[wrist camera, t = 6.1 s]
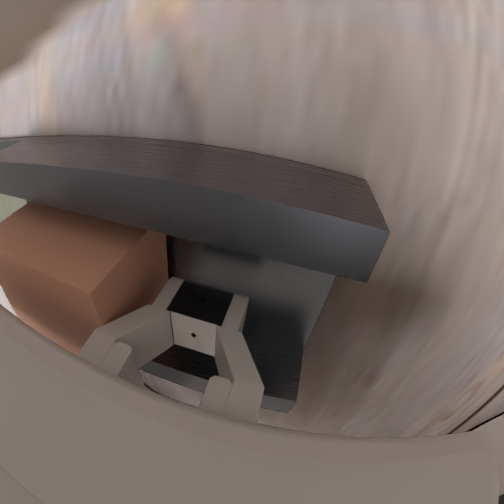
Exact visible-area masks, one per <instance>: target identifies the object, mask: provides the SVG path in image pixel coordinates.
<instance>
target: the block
mask: <svg viewBox="0 0 504 504" xmlns="http://www.w3.org/2000/svg"><path fill="white" fill-rule="evenodd" d="M168 280H169V279H168V264H167V245H166V234H163V233H158V232H154V231H150V230H146V229H142V228H138V227H134V226H130V225H126V224H122V223H118V222H114V221H110V220H106V219H101V218H97V217H93V216H89V215H85V214H81V213H77V212H73V211H69V210H65V209H61V208H57V207H53V206H49V205H45V204H41V203H37V202H33V201H30V202H28V203H27V204H26V205H24V206H23V207H21V208H20V209H18V210H17V211H15V212H14V213H13V214H11V215H10V216H8V217H7V218H6V219H4V220H3V221H2V222H0V284H1V286H2V288H3V290H4V292H5V294H6V296H7V298H8V300H9V302H10V304H11V306H12V308H13V309H14V311H15V313H16V315H17V316H18V318H19V319H20V320H22V321H23V322H24V323H26V324H27V325H29V326H30V327H32V328H33V329H35V330H36V331H38V332H39V333H41V334H42V335H44V336H45V337H47V338H48V339H50V340H52V341H53V342H55V343H56V344H58V345H60V346H61V347H63V348H65V349H66V350H68V351H70V352H72V353H73V354H75V355H77V354H78V353H79V351H80V350H81V349H82V347H83V346H84V344H85V343H86V341H87V340H88V338H89V337H90V336H91V334H92V333H93V331H94V330H95V329H96V328H99V327H101V326H103V325H105V324H107V323H109V322H111V321H114V320H116V319H118V318H120V317H122V316H124V315H127V314H129V313H131V312H133V311H135V310H137V309H139V308H142V307H144V306H146V305H148V304H149V305H152V304H153V303H154V301H155V300H156V298H157V297H158V295H159V294H160V292H161V291H162V289H163V288H164V286H165V285H166V283H167V282H168Z"/></svg>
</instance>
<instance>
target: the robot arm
mask: <svg viewBox="0 0 504 504" xmlns="http://www.w3.org/2000/svg"><path fill="white" fill-rule="evenodd" d="M248 301H249V296H245V295H241V294H237V293H233V292H229V291H225V290H221V289H217V288H213V287H209V286H205V285H202V284H198V283H195V282H192V281H189V280H184V279H181V278H178V277H175V276H173V277H171V278H170V279H169V280H168V282H167V283H166V285H165V286H164V288H163V289H162V291H161V292H160V294H159V295H158V297H157V298H156V300H155V301H154V303H153V304H152V305H149V304H148V305H146V306H144V307H142V308H139V309H137V310H135V311H133V312H131V313H129V314H127V315H124V316H122V317H120V318H118V319H116V320H114V321H111V322H109V323H107V324H105V325H103V326H101V327H99V328H96V329H95V330H94V331H93V333H92V334H91V336H90V337H89V338H88V340H87V341H86V343H85V344H84V346H83V347H82V349H81V350H80V351H79V353H78V354H77V355H75V354H73V353H72V352H70V351H68V350H66V349H65V348H63V347H61V346H60V345H58V344H56V343H55V342H53V341H52V340H50V339H48V338H47V337H45V336H44V335H42V334H41V333H39V332H38V331H36V330H35V329H33V328H32V327H30V326H29V325H27V324H26V323H24V322H23V321H22V320H20V319H19V318H18V317H16V316H15V315H13V314H12V313H11V312H10V311H8V310H7V309H6V308H4V307H3V306H2V305H1V304H0V504H504V414H503V415H501V416H499V417H497V418H495V419H493V420H491V421H489V422H487V423H485V424H484V425H482V426H480V427H478V428H476V429H474V430H472V431H469V432H463V433H456V434H448V435H438V436H426V437H407V438H369V437H349V436H336V435H326V434H317V433H309V432H302V431H295V430H289V429H283V428H278V427H272V426H267V425H263V424H258V423H257V418H258V414H259V410H260V405H261V401H262V397H263V392H264V388H265V387H264V385H263V382H262V380H261V378H260V375H259V373H258V371H257V368H256V366H255V363H254V361H253V359H252V356H251V354H250V351H249V349H248V346H247V344H246V341H245V339H244V336H243V334H242V329H243V325H244V321H245V317H246V312H247V307H248ZM174 344H176V345H179V346H183V347H186V348H190V349H193V350H196V351H199V352H202V353H205V354H208V355H211V356H214V358H215V362H216V366H217V369H218V373H219V376H213V377H211V378H210V379H209V382H208V385H207V387H206V390H205V392H204V395H203V398H202V400H201V403H200V405H199V408H198V407H195V406H191V405H188V404H185V403H183V402H180V401H177V400H174V399H171V398H168V397H166V396H163V395H160V394H158V393H155V392H153V391H150V390H148V389H145V388H143V386H144V382H143V379H142V376H141V374H140V371H139V368H140V367H142V366H143V365H145V364H146V363H148V362H149V361H151V360H152V359H154V358H155V357H157V356H158V355H160V354H161V353H163V352H164V351H166V350H167V349H169V348H170V347H171V346H173V345H174Z"/></svg>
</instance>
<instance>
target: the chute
mask: <svg viewBox="0 0 504 504" xmlns="http://www.w3.org/2000/svg"><path fill="white" fill-rule="evenodd" d="M30 201H33V202H37V203H41V204H45V205H49V206H53V207H57V208H61V209H65V210H69V211H73V212H77V213H81V214H85V215H89V216H93V217H97V218H101V219H106V220H110V221H114V222H118V223H122V224H126V225H130V226H134V227H138V228H142V229H146V230H150V231H154V232H158V233H163V234H166V245H167V264H168V279H170V278H171V277H173V276H175V277H178V278H181V279H184V280H189V281H192V282H195V283H198V284H202V285H205V286H209V287H213V288H217V289H221V290H225V291H229V292H233V293H237V294H241V295H245V296H249V301H248V307H247V312H246V317H245V321H244V325H243V329H242V334H243V336H244V339H245V341H246V344H247V346H248V349H249V351H250V354H251V356H252V359H253V361H254V363H255V366H256V368H257V371H258V373H259V375H260V378H261V380H262V382H263V385H264V387H265V388H264V392H263V397H262V401H261V405H260V408H264V409H269V410H274V411H279V412H284V413H288V412H289V411H290V409H291V408H292V407H293V405H294V404H295V402H296V399H297V392H298V385H299V378H300V371H301V363H302V355H303V348H304V346H305V344H306V342H307V340H308V338H309V336H310V334H311V331H312V329H313V327H314V325H315V323H316V321H317V318H318V316H319V314H320V312H321V310H322V307H323V305H324V303H325V301H326V298H327V296H328V294H329V291H330V289H331V287H332V284H333V282H334V279H335V277H336V276H341V277H345V278H349V279H353V280H357V281H362V282H366V283H367V281H368V279H369V277H370V275H371V273H372V271H373V269H374V266H375V264H376V262H377V260H378V258H379V256H380V253H381V251H382V249H383V247H384V244H385V242H386V240H387V238H388V235H389V233H390V231H389V229H388V227H387V224H386V222H385V220H384V217H383V215H382V213H381V211H380V208H379V206H378V204H377V202H376V200H375V198H374V196H373V194H372V192H371V190H370V187H369V185H368V183H367V181H366V180H364V179H360V178H357V177H353V176H350V175H346V174H343V173H339V172H336V171H332V170H328V169H324V168H320V167H316V166H312V165H308V164H304V163H300V162H295V161H291V160H286V159H282V158H277V157H272V156H267V155H262V154H257V153H251V152H246V151H240V150H234V149H228V148H222V147H216V146H209V145H202V144H194V143H186V142H178V141H168V140H158V139H147V138H133V137H115V136H77V135H71V136H34V137H19V138H7V139H0V222H2V221H3V220H4V219H6V218H7V217H8V216H10V215H11V214H13V213H14V212H15V211H17V210H18V209H20V208H21V207H23V206H24V205H26V204H27V203H28V202H30ZM139 369H140V370H142V371H145V372H147V373H150V374H152V375H155V376H157V377H160V378H163V379H165V380H168V381H171V382H173V383H176V384H179V385H182V386H185V387H188V388H191V389H194V390H197V391H200V392H203V393H204V392H205V390H206V387H207V385H208V382H209V379H210V378H211V377H213V376H219V373H218V369H217V366H216V362H215V358H214V356H211V355H208V354H205V353H202V352H199V351H196V350H193V349H190V348H186V347H183V346H179V345H176V344H174V345H173V346H171V347H170V348H169V349H167V350H166V351H164V352H163V353H161V354H160V355H158V356H157V357H155V358H154V359H152V360H151V361H149V362H148V363H146V364H145V365H143V366H142V367H140V368H139Z"/></svg>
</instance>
